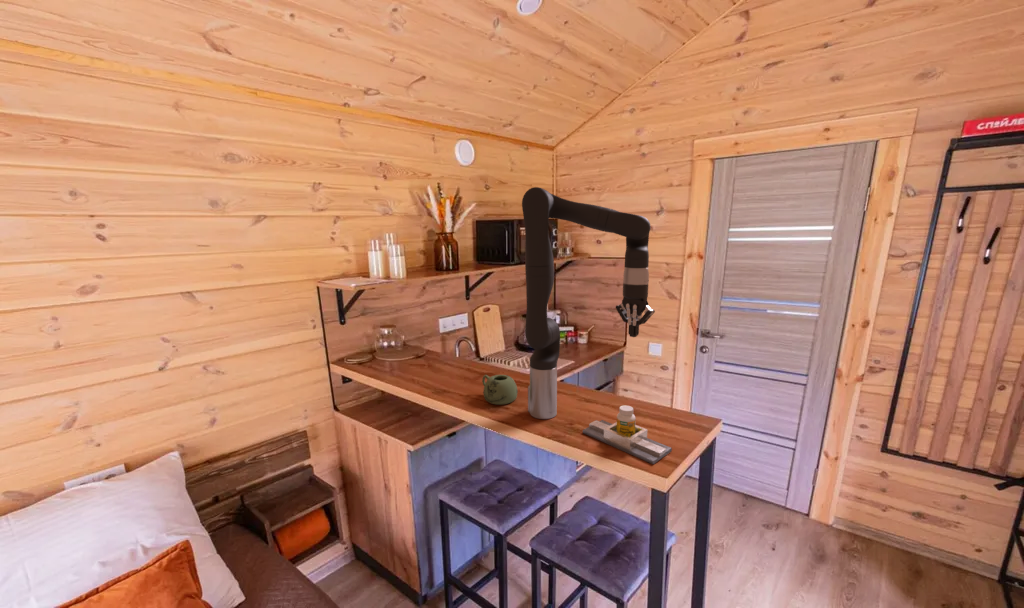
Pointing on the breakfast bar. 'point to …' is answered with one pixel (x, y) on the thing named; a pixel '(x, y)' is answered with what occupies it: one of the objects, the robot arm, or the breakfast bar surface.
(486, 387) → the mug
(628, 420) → the supplement bottle
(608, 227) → the robot arm
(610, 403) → the breakfast bar surface
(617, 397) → the breakfast bar surface
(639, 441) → the rail collar
